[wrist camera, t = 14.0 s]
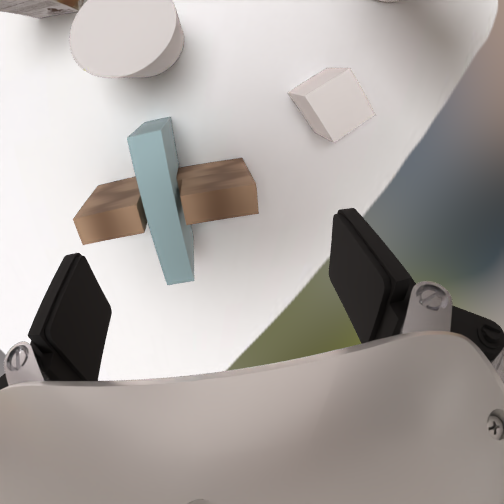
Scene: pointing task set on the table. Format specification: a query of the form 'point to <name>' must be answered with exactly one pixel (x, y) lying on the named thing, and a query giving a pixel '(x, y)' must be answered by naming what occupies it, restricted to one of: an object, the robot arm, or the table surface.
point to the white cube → (332, 103)
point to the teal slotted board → (163, 198)
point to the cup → (126, 37)
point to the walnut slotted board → (191, 193)
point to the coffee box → (40, 7)
